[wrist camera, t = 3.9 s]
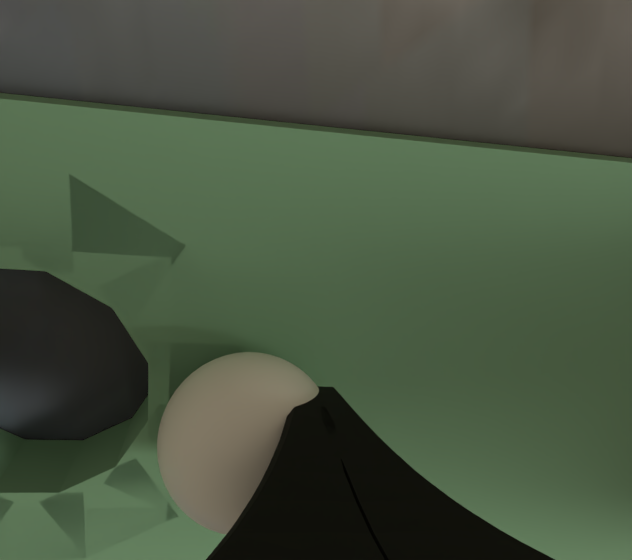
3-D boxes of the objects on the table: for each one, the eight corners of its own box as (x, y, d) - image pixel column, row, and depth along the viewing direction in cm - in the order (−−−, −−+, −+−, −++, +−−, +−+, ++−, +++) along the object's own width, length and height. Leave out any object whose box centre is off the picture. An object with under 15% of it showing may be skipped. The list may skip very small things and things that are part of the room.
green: (722, 167, 14) (795, 179, 12) (596, 528, 18) (637, 579, 16) (-351, 56, 10) (-482, 49, 9) (-217, 539, 14) (-287, 606, 12)
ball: (349, 330, 10) (169, 309, 10) (336, 523, 8) (112, 499, 8) (333, 402, 13) (191, 387, 13) (321, 560, 11) (153, 541, 11)
